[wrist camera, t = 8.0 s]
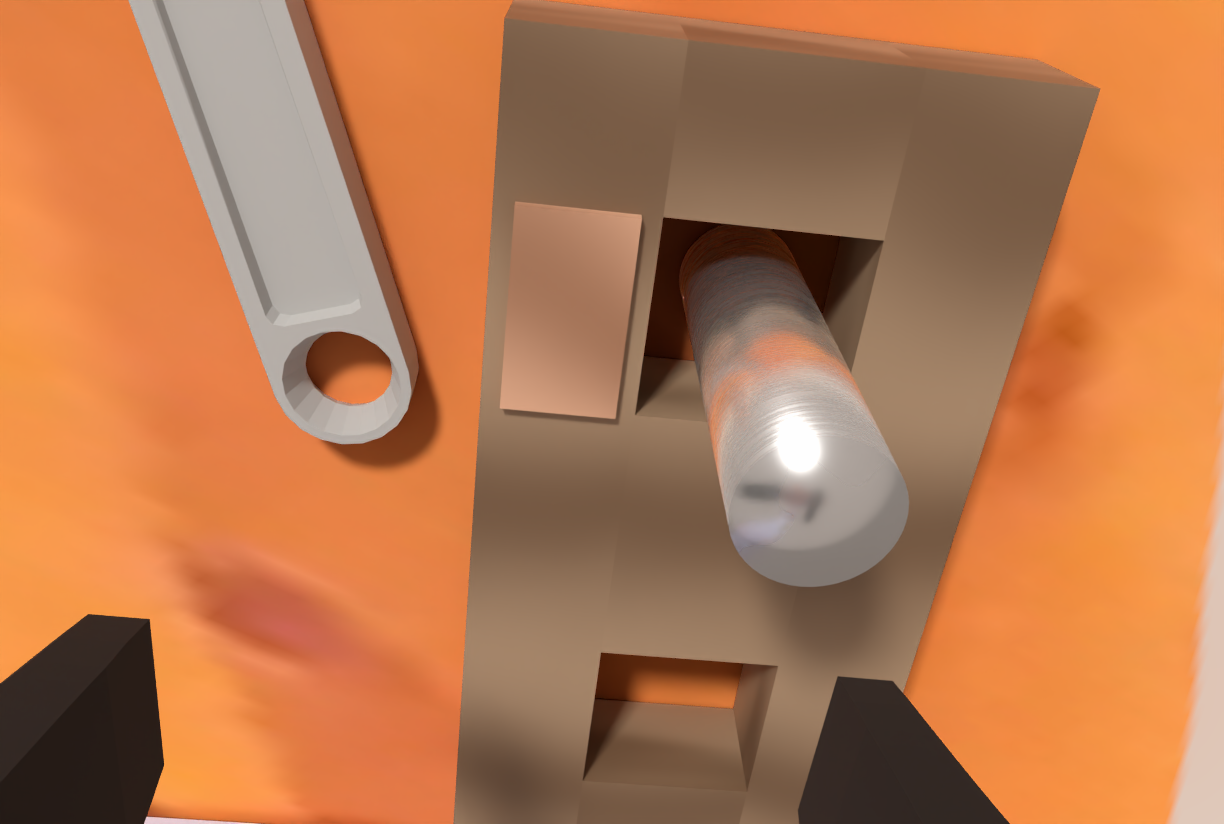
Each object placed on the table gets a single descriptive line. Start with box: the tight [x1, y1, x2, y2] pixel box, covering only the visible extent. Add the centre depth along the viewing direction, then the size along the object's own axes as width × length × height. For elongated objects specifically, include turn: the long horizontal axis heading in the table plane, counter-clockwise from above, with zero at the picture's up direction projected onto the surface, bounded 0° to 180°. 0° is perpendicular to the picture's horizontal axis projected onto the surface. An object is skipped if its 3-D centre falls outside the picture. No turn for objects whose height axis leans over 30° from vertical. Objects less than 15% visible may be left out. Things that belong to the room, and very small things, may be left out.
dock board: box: [454, 0, 1100, 824], centre depth 21 cm, size 18×9×3 cm, turn 173°
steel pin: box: [679, 224, 909, 587], centre depth 16 cm, size 2×2×8 cm
